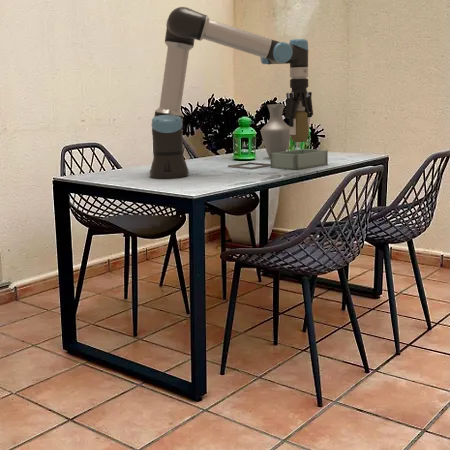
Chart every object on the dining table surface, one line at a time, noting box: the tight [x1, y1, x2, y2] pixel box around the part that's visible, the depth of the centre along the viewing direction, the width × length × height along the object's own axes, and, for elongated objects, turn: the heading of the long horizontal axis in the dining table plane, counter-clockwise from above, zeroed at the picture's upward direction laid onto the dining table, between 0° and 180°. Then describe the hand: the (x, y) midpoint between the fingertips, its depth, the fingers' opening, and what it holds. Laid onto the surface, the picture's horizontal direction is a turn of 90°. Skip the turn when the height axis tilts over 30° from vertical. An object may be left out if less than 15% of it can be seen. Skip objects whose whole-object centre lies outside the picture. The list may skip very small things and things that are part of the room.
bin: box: [269, 148, 329, 171], centre depth 269 cm, size 21×14×6 cm, turn 134°
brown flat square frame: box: [227, 161, 271, 170], centre depth 274 cm, size 14×14×1 cm
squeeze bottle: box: [290, 101, 310, 143], centre depth 266 cm, size 8×8×18 cm
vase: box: [260, 103, 292, 159], centre depth 297 cm, size 14×14×25 cm
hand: (299, 133), depth 267 cm, fingers closed on squeeze bottle, 8 cm apart
